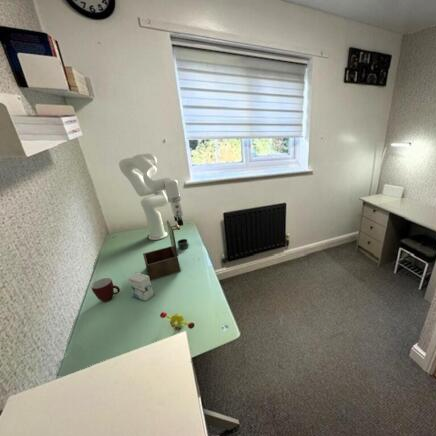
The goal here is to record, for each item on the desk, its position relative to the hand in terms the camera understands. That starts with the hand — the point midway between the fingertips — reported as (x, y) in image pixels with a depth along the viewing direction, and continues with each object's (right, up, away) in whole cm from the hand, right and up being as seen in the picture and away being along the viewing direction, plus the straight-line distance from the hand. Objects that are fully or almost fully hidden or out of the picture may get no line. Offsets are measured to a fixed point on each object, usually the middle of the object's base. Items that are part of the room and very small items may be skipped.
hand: (179, 223), depth 158 cm
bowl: (-1, -17, +8) cm, 19 cm away
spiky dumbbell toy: (+26, -45, -55) cm, 75 cm away
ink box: (0, -37, -37) cm, 52 cm away
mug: (-16, -37, -39) cm, 56 cm away
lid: (+5, -8, -20) cm, 22 cm away
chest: (-1, -27, -17) cm, 32 cm away
